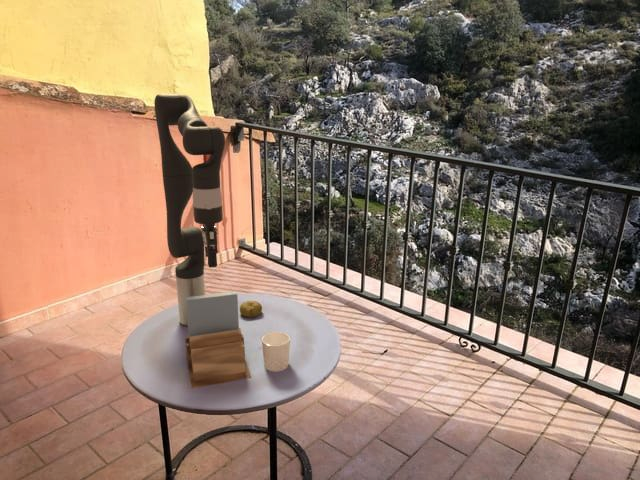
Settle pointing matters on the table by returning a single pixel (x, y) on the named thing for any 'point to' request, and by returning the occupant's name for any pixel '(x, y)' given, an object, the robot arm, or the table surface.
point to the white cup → (276, 351)
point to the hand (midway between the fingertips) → (211, 261)
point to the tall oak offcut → (215, 339)
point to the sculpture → (252, 306)
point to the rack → (215, 379)
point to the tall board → (212, 313)
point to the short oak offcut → (218, 360)
